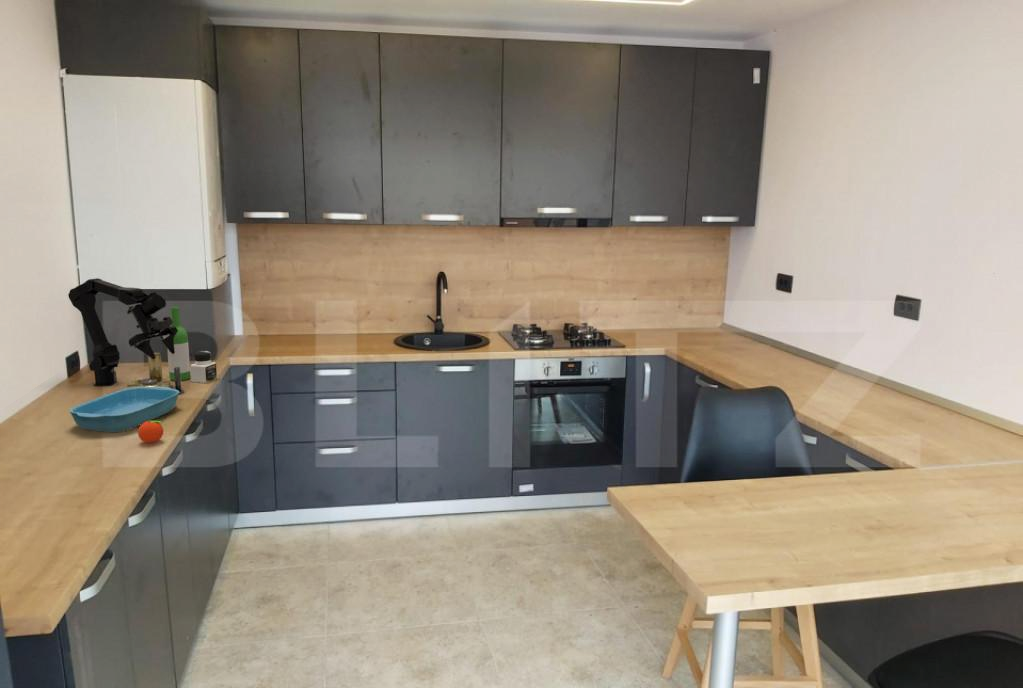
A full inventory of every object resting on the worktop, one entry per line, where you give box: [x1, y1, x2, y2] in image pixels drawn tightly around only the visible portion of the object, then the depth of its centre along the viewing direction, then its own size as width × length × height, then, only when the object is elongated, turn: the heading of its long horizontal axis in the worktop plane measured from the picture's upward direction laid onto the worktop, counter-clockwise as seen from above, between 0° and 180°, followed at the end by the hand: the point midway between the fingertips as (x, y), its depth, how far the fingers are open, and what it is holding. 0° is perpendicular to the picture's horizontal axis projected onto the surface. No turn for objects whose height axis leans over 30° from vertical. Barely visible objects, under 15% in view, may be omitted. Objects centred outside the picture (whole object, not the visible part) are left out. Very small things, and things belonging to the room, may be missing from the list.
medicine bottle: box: [190, 350, 218, 384], centre depth 279 cm, size 7×7×12 cm
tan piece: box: [127, 352, 172, 388], centre depth 256 cm, size 14×15×12 cm
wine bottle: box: [166, 306, 191, 382], centre depth 278 cm, size 8×8×30 cm
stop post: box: [174, 367, 185, 395], centre depth 261 cm, size 4×4×10 cm
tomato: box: [137, 420, 168, 444], centre depth 211 cm, size 8×7×7 cm
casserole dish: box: [69, 386, 180, 433], centre depth 232 cm, size 37×22×7 cm, turn 171°
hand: (164, 356), depth 259 cm, fingers open, 9 cm apart
